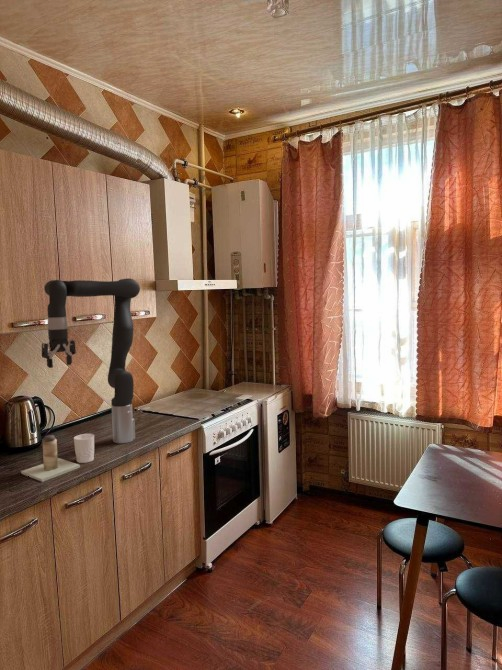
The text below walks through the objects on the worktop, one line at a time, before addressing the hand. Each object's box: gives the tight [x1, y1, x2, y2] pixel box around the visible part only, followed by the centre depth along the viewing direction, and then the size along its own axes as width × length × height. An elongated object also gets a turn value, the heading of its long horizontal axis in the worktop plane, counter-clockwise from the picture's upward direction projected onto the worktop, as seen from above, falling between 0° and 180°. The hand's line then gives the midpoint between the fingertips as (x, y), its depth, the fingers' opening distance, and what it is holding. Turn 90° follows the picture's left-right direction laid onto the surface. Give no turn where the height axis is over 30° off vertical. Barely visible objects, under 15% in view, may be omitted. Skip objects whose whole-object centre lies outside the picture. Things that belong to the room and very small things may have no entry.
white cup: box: [73, 433, 95, 464], centre depth 186 cm, size 8×8×10 cm
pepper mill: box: [42, 434, 59, 470], centre depth 175 cm, size 5×5×12 cm
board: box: [20, 457, 81, 483], centre depth 176 cm, size 16×14×1 cm
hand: (59, 366), depth 190 cm, fingers open, 8 cm apart
